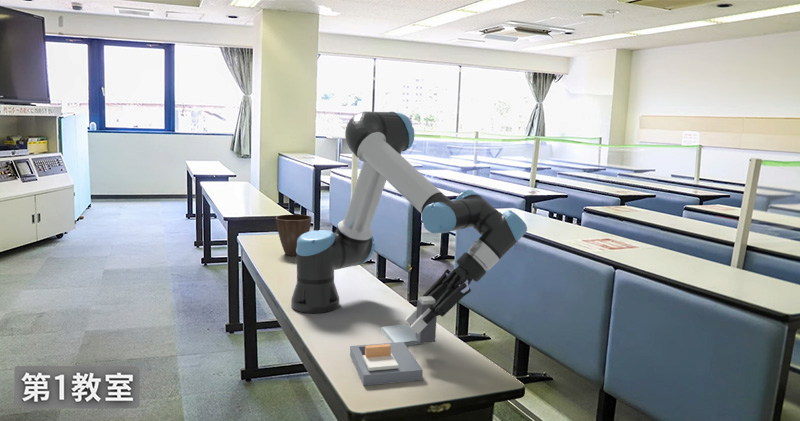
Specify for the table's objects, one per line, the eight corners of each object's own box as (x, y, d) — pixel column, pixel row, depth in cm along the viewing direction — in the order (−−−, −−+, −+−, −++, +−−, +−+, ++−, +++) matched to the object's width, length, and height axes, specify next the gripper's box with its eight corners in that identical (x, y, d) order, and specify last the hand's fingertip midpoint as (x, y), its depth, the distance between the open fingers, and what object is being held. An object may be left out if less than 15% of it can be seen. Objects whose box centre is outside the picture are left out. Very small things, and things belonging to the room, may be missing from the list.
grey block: (415, 337, 151) (417, 296, 149) (430, 336, 152) (432, 295, 150) (420, 343, 147) (422, 301, 145) (435, 342, 148) (437, 300, 146)
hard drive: (423, 339, 158) (408, 323, 169) (395, 343, 155) (381, 326, 167) (423, 345, 158) (408, 329, 170) (394, 348, 156) (380, 331, 167)
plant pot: (272, 251, 255) (272, 215, 252) (306, 248, 261) (306, 213, 259) (280, 259, 242) (280, 221, 239) (315, 256, 248) (315, 219, 245)
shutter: (362, 358, 141) (363, 345, 140) (391, 356, 143) (391, 343, 142) (368, 370, 134) (369, 357, 134) (398, 368, 136) (398, 355, 135)
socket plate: (350, 355, 149) (350, 346, 149) (403, 350, 153) (403, 341, 152) (363, 385, 133) (363, 375, 133) (422, 379, 137) (422, 369, 136)
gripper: (456, 243, 156) (393, 305, 155) (480, 260, 140) (411, 330, 139) (473, 262, 159) (411, 323, 157) (499, 281, 143) (431, 349, 141)
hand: (411, 326), depth 148 cm, fingers closed on grey block, 4 cm apart
